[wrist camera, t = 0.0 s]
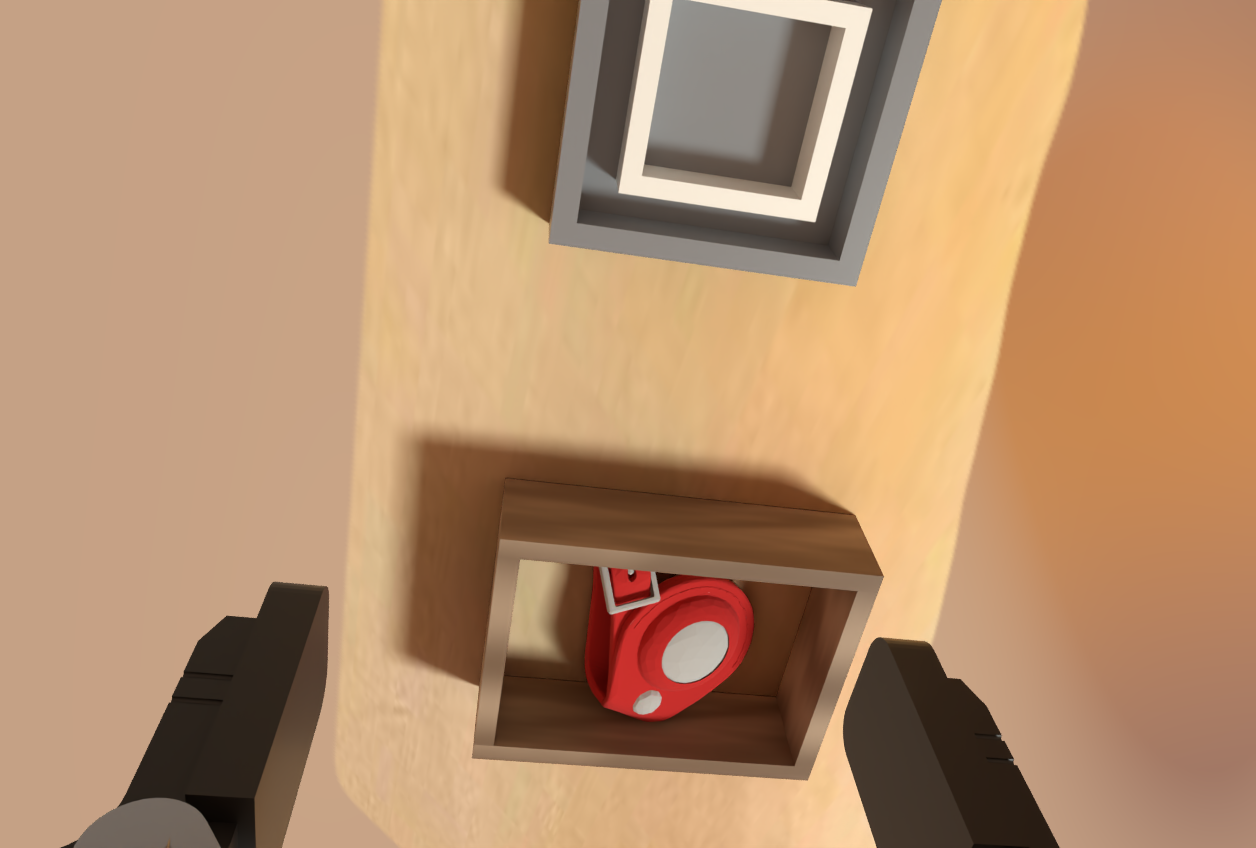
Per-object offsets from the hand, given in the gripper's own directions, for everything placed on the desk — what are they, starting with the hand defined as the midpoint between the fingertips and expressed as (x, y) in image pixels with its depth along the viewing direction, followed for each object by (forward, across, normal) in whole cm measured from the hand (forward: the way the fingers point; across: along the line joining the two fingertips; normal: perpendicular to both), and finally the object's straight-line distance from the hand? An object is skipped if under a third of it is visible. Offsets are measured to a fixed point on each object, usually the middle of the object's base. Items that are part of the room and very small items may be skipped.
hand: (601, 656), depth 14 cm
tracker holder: (+29, -8, +22) cm, 38 cm away
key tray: (+29, -8, +23) cm, 38 cm away
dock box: (+29, -6, -4) cm, 30 cm away
